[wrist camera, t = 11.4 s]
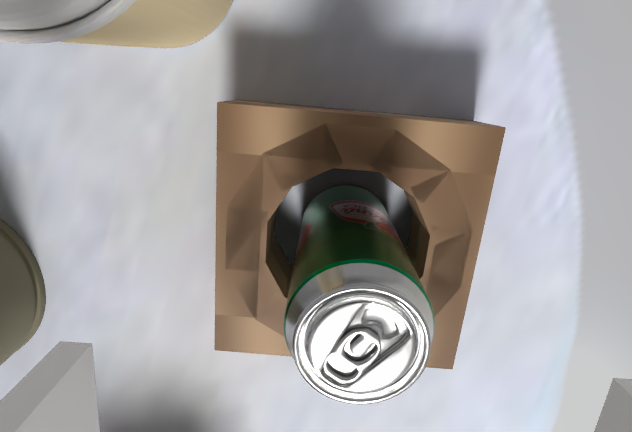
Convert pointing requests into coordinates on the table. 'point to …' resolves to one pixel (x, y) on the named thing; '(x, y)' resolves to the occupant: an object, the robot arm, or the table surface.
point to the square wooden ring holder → (356, 154)
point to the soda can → (356, 301)
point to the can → (18, 293)
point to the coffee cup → (111, 21)
